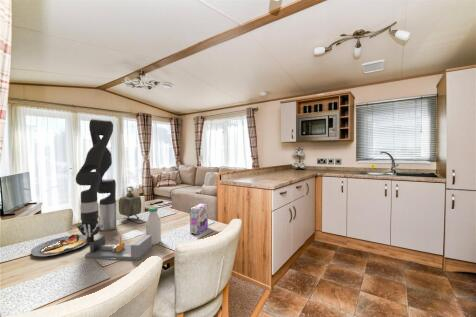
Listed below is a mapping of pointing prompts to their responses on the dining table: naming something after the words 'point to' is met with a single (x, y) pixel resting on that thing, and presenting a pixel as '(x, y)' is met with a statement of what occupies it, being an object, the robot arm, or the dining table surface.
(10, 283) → the dining table surface
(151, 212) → the milk bottle
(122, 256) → the base
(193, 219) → the candy box
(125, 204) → the tabletop clock
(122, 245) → the needle
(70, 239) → the food plate
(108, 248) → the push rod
